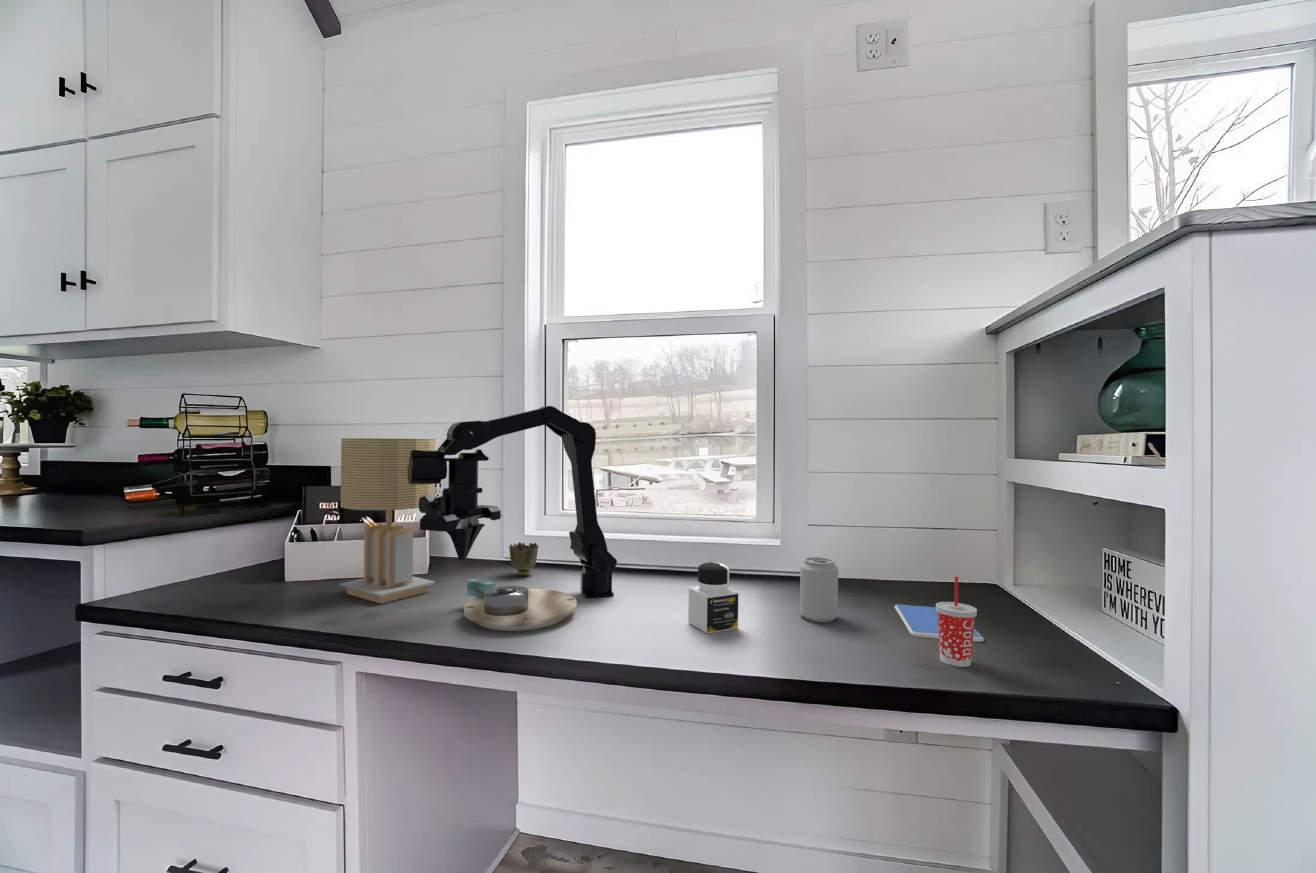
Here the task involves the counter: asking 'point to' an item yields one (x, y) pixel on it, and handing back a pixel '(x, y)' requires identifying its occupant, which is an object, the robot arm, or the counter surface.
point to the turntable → (540, 611)
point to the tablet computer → (924, 621)
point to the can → (819, 589)
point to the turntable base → (520, 628)
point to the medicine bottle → (713, 600)
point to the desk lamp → (383, 484)
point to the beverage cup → (956, 631)
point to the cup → (523, 557)
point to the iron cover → (505, 600)
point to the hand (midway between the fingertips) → (462, 559)
